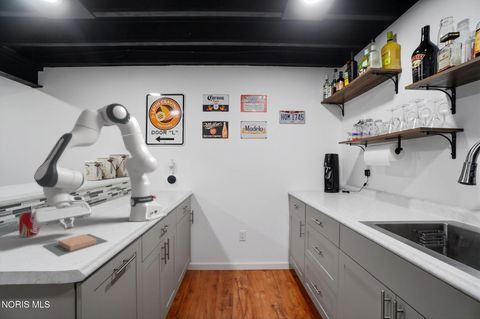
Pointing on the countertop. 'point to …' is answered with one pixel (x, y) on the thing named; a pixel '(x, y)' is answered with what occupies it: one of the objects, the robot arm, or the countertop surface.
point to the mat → (61, 250)
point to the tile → (77, 242)
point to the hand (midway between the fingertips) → (69, 228)
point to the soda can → (27, 225)
